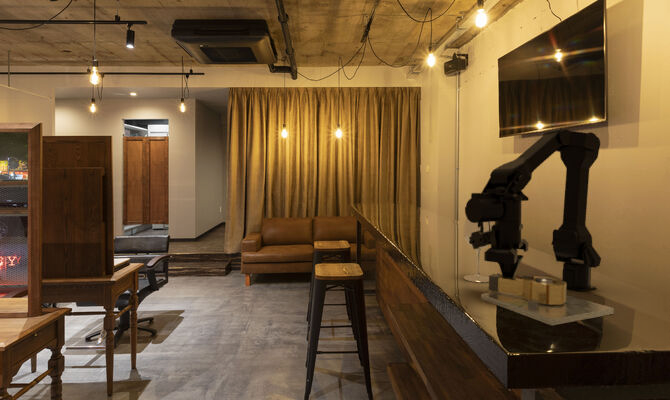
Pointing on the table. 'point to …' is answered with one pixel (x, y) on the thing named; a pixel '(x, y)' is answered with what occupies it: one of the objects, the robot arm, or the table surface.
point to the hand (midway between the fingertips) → (507, 285)
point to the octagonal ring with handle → (530, 288)
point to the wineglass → (482, 228)
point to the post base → (549, 307)
